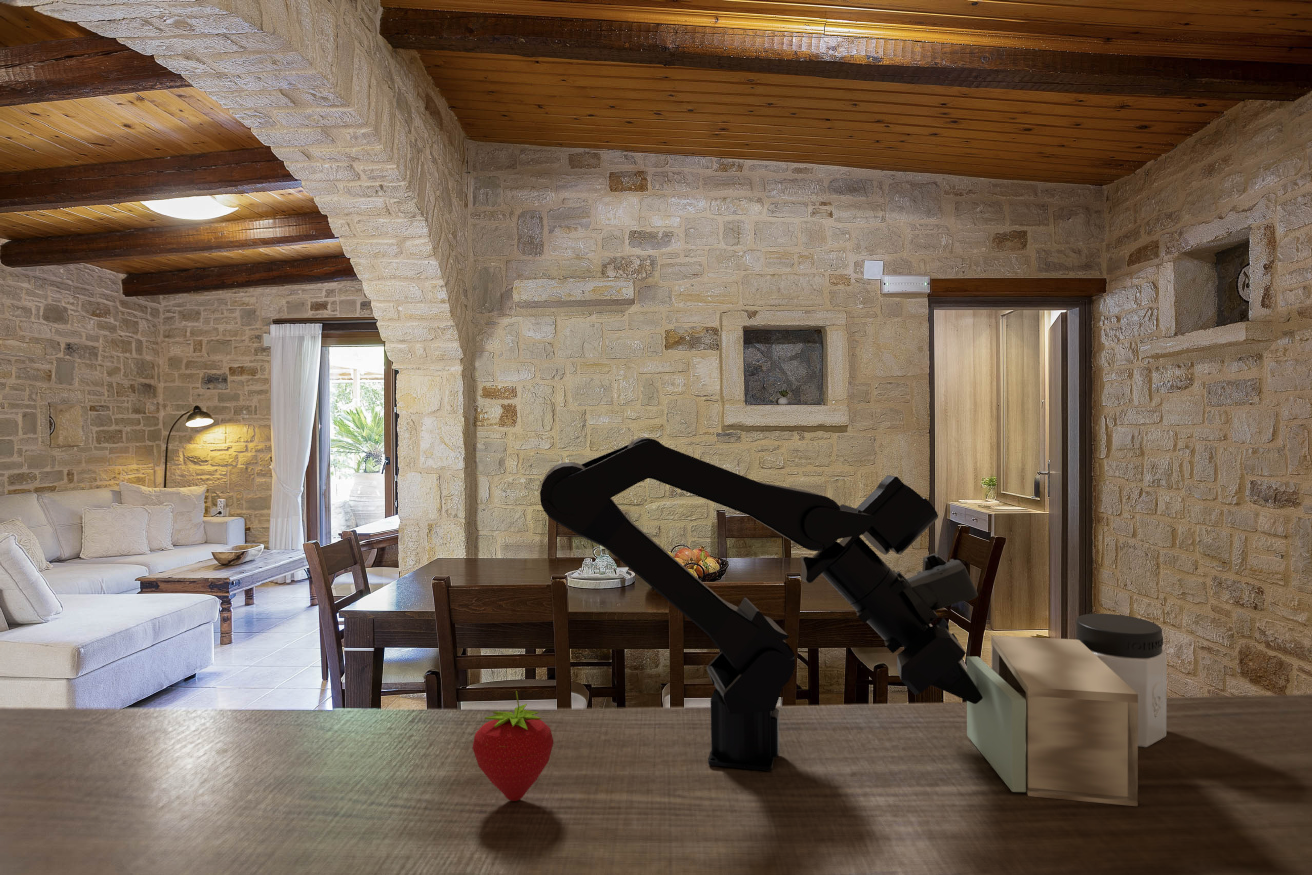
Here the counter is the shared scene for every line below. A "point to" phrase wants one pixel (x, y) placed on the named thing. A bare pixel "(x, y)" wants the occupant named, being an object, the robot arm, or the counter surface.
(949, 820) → the counter surface
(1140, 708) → the jar
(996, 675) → the door
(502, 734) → the strawberry
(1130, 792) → the cabinet
